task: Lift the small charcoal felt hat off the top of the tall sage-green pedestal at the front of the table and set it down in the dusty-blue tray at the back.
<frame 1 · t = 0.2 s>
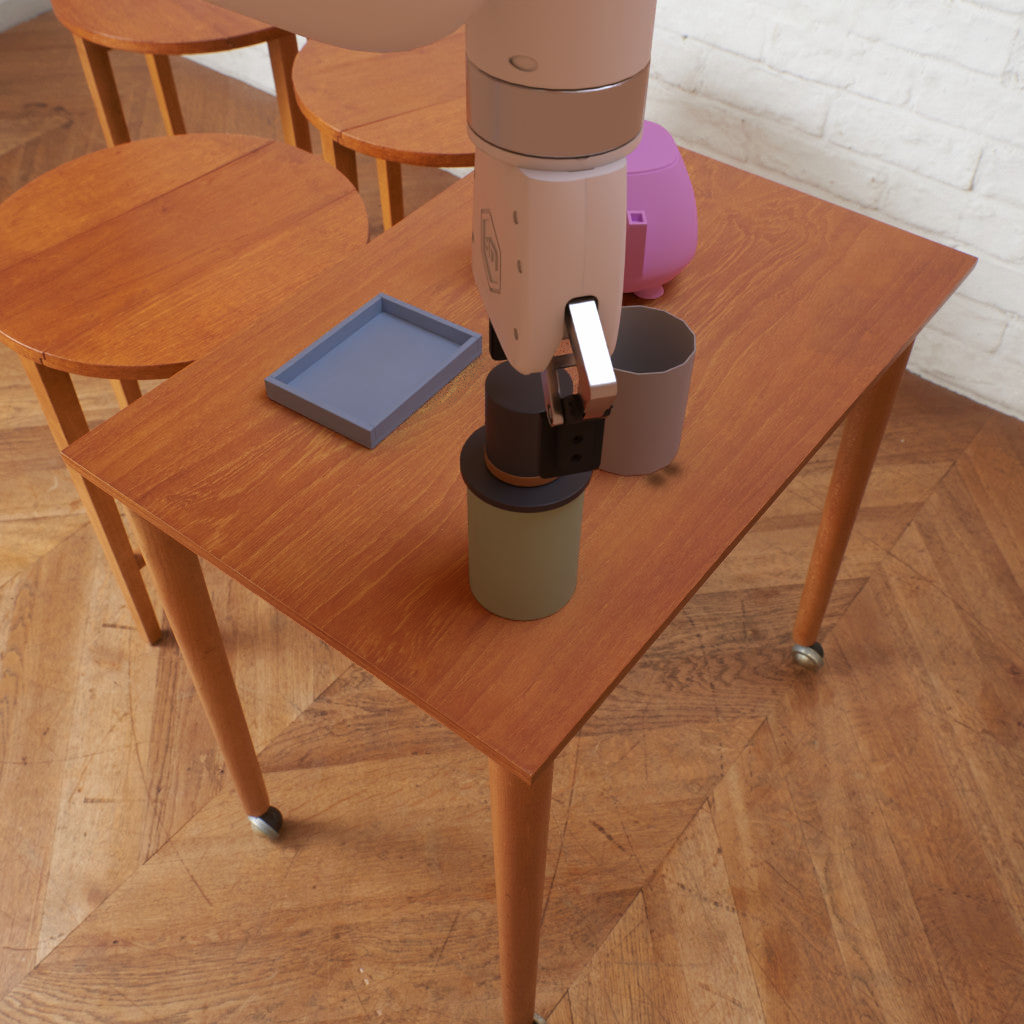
hand: (541, 409, 56), 20 cm above the table, tool pointing down, fingers open, 9 cm apart
cup: (626, 441, 84), on the table
hat: (526, 465, 66), point 11 cm above the table, touching pedestal
teapot: (589, 283, 100), on the table
tray: (377, 375, 90), on the table
pedestal: (522, 578, 74), on the table
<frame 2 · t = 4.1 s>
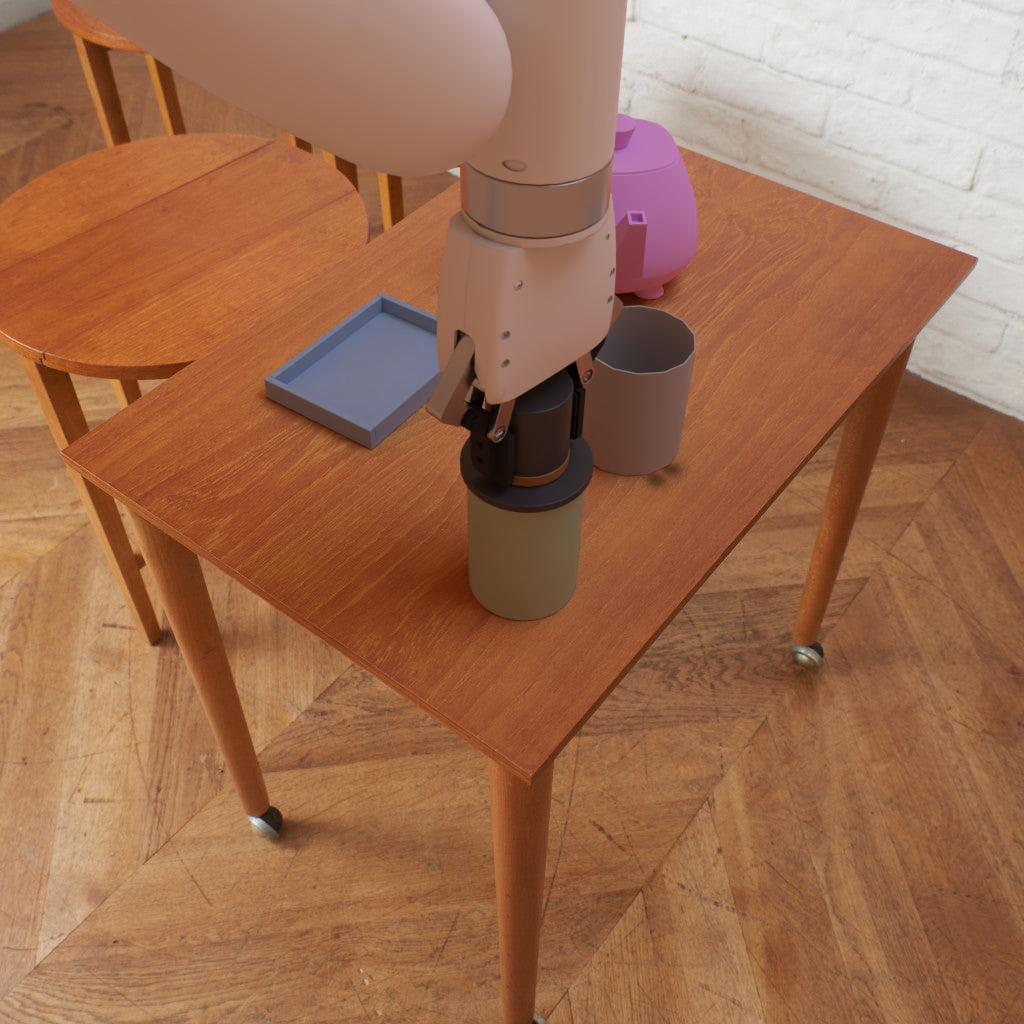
hand: (527, 448, 65), 12 cm above the table, tool pointing down, fingers closed on hat, 5 cm apart
hat: (526, 465, 66), point 11 cm above the table, touching gripper, pedestal
everything else where it was.
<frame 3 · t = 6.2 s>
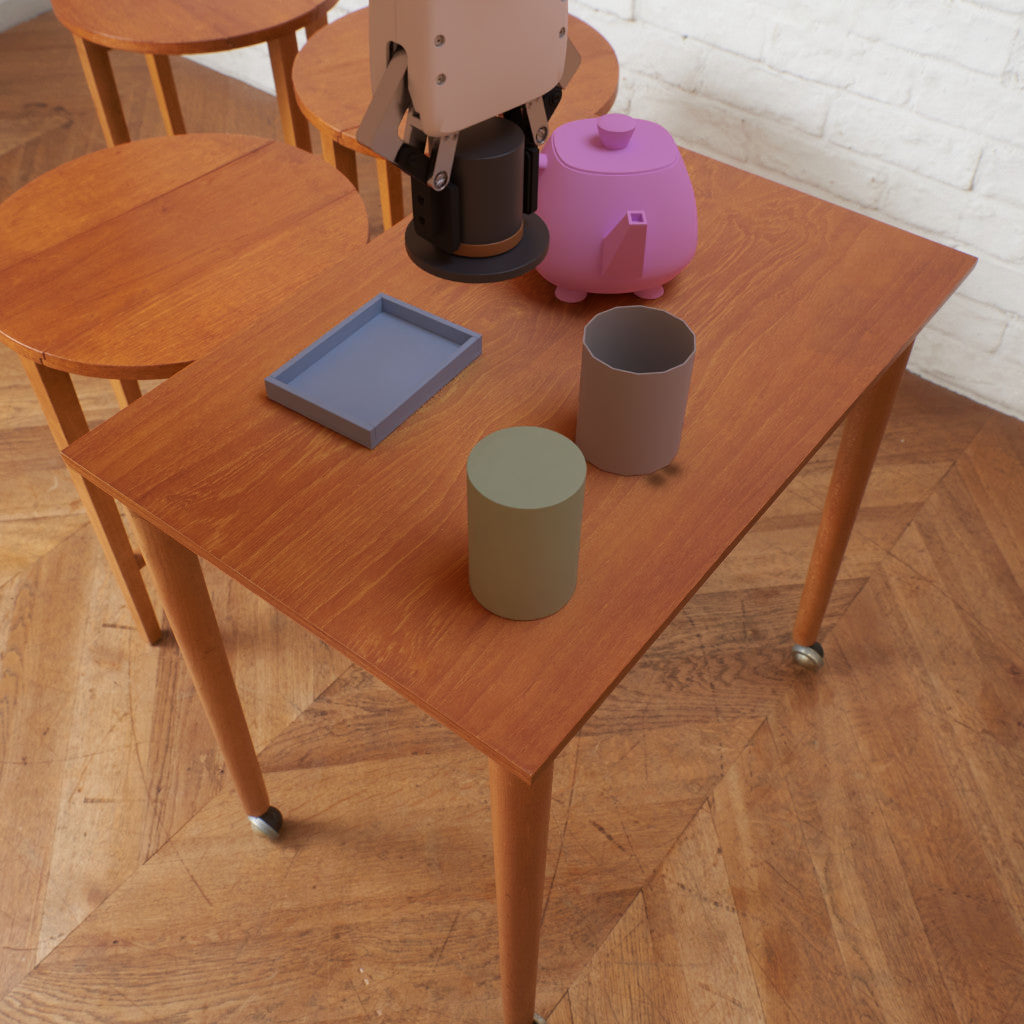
hand: (476, 220, 60), 25 cm above the table, tool pointing down, fingers closed on hat, 5 cm apart
hat: (477, 243, 61), point 23 cm above the table, touching gripper
everything else where it was.
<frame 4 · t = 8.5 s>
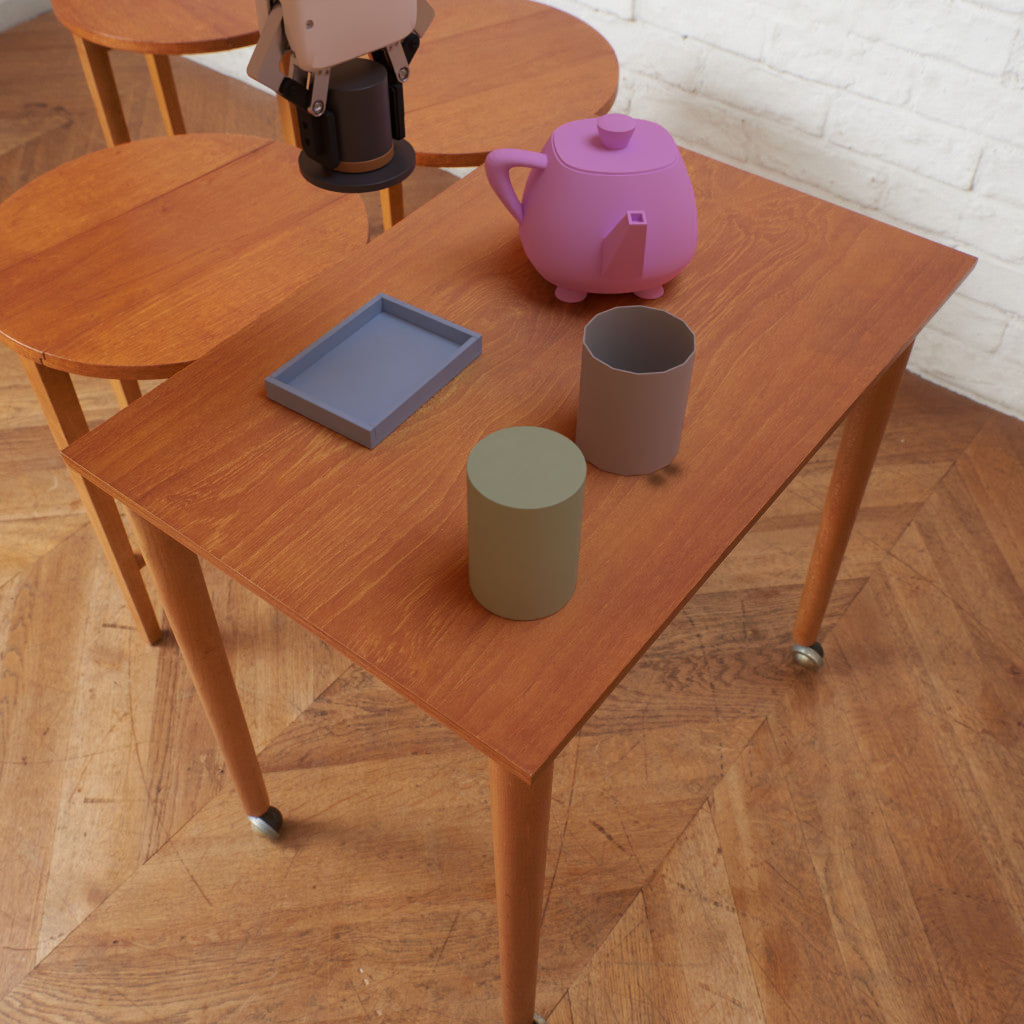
hand: (355, 144, 75), 21 cm above the table, tool pointing down, fingers closed on hat, 5 cm apart
hat: (357, 163, 76), point 19 cm above the table, touching gripper
everything else where it was.
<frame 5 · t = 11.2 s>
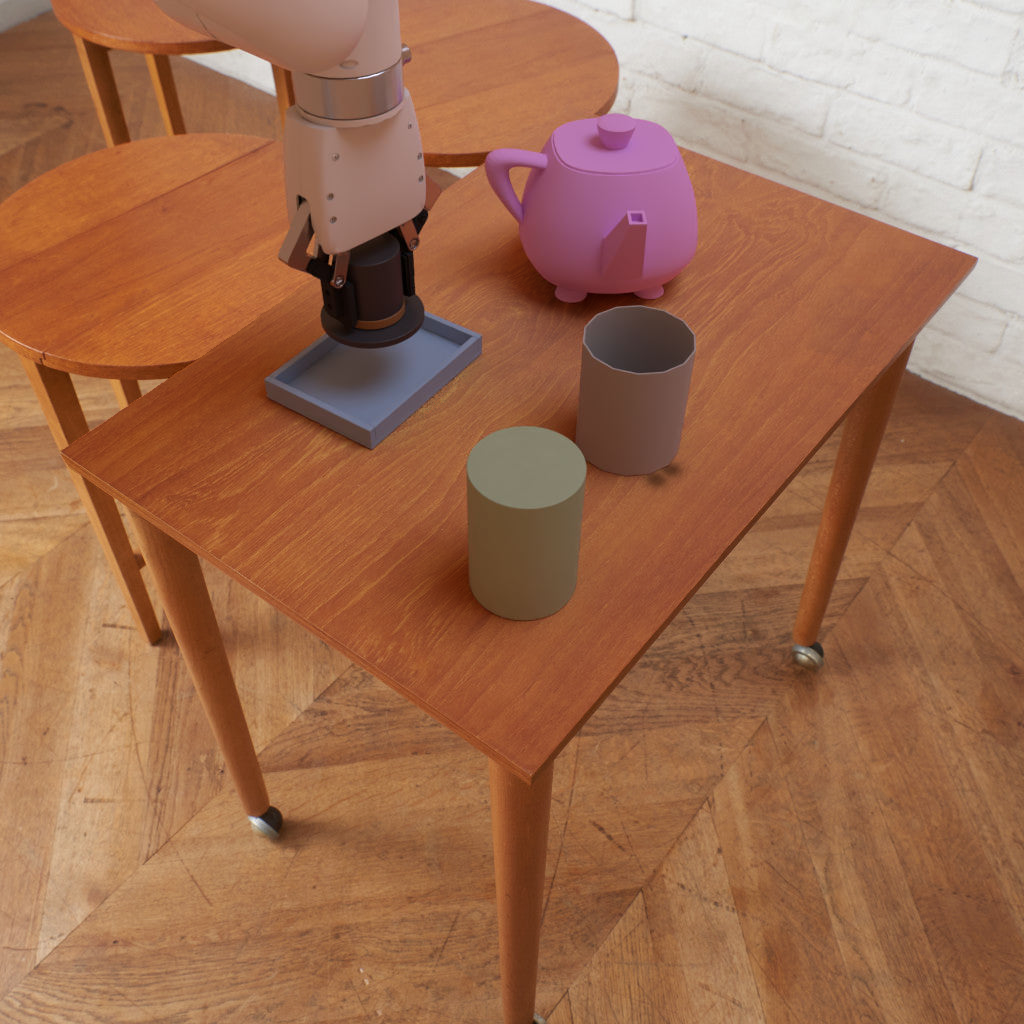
hand: (371, 302, 84), 7 cm above the table, tool pointing down, fingers closed on hat, 5 cm apart
hat: (373, 317, 85), point 6 cm above the table, touching gripper
everything else where it was.
when the fingers open (2 cm above the table, at t = 13.0 s): hat stays where it is, resting on tray.
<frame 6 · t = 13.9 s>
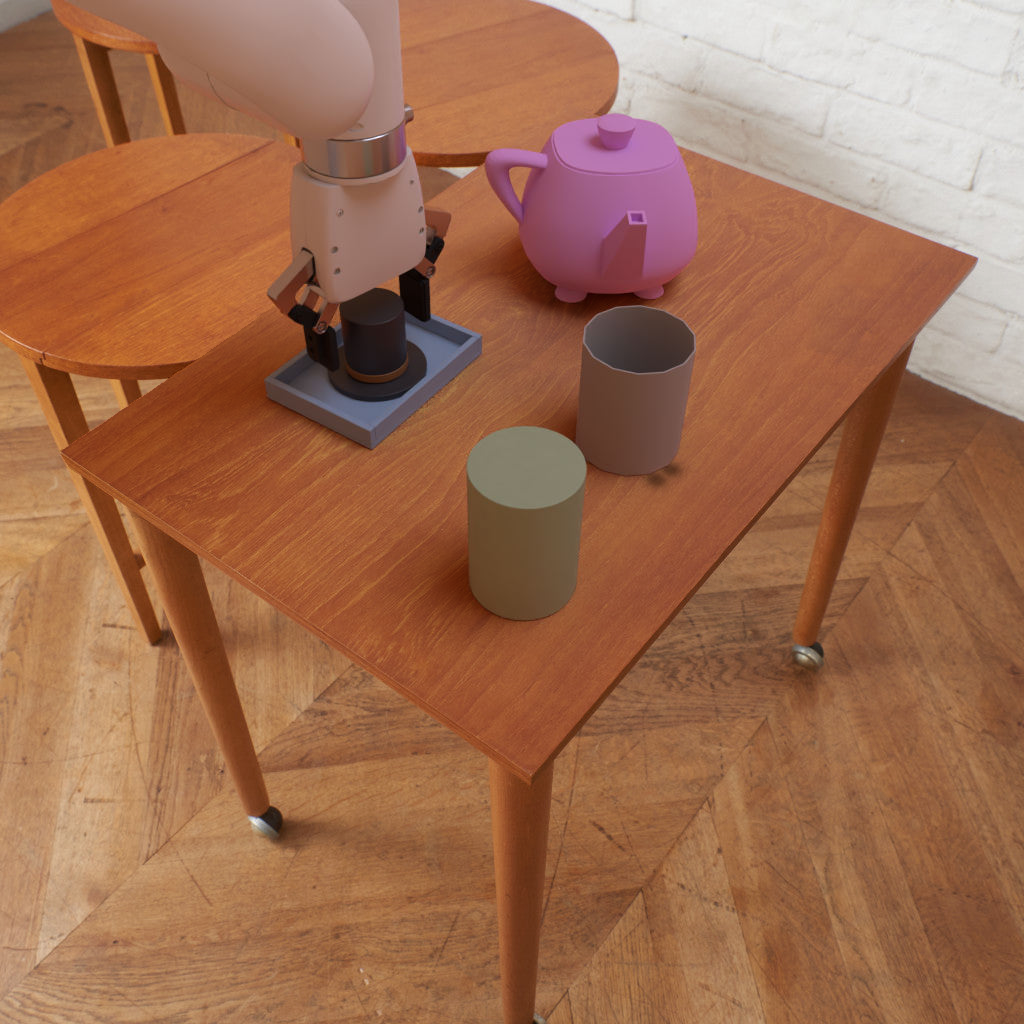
hand: (371, 338, 87), 4 cm above the table, tool pointing down, fingers open, 9 cm apart
hat: (377, 370, 89), resting on tray
everything else where it was.
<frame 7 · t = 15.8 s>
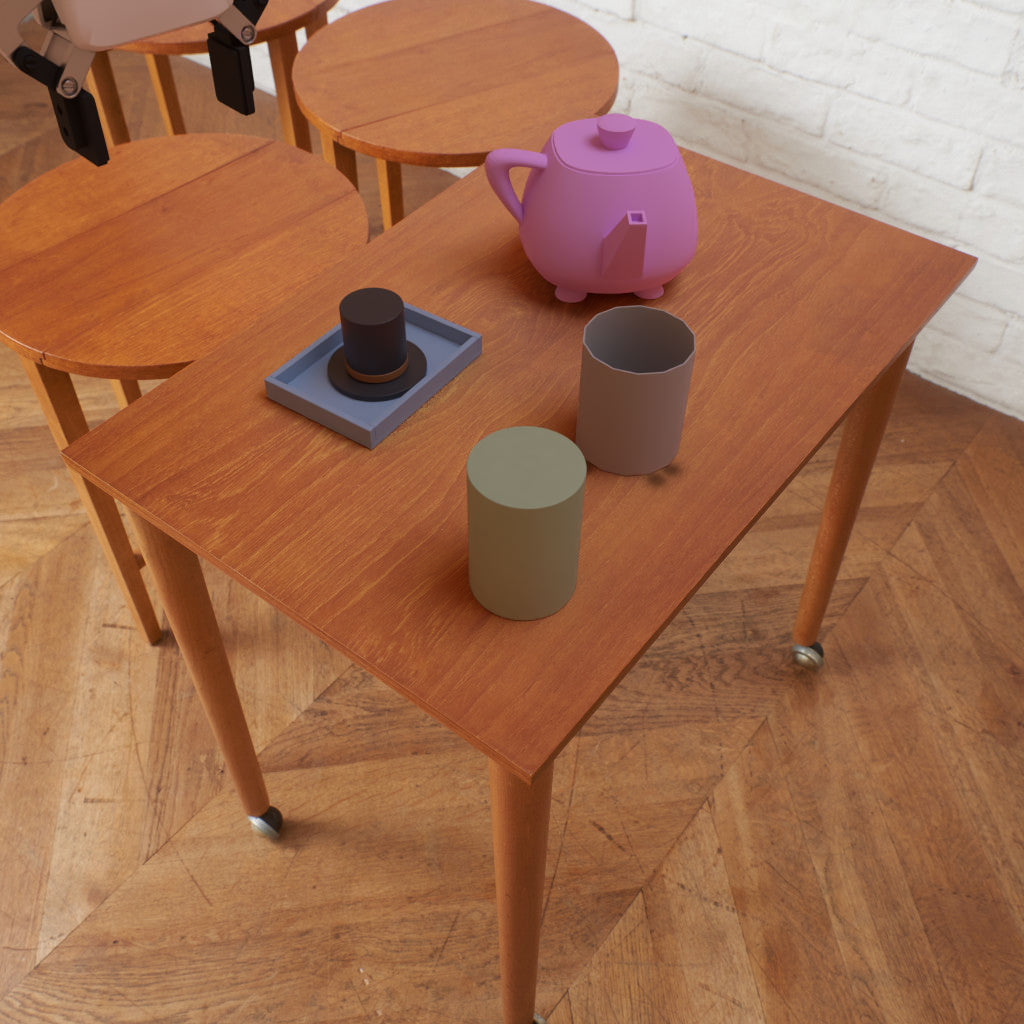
hand: (166, 131, 61), 28 cm above the table, tool pointing down, fingers open, 9 cm apart
nothing on the table moved.
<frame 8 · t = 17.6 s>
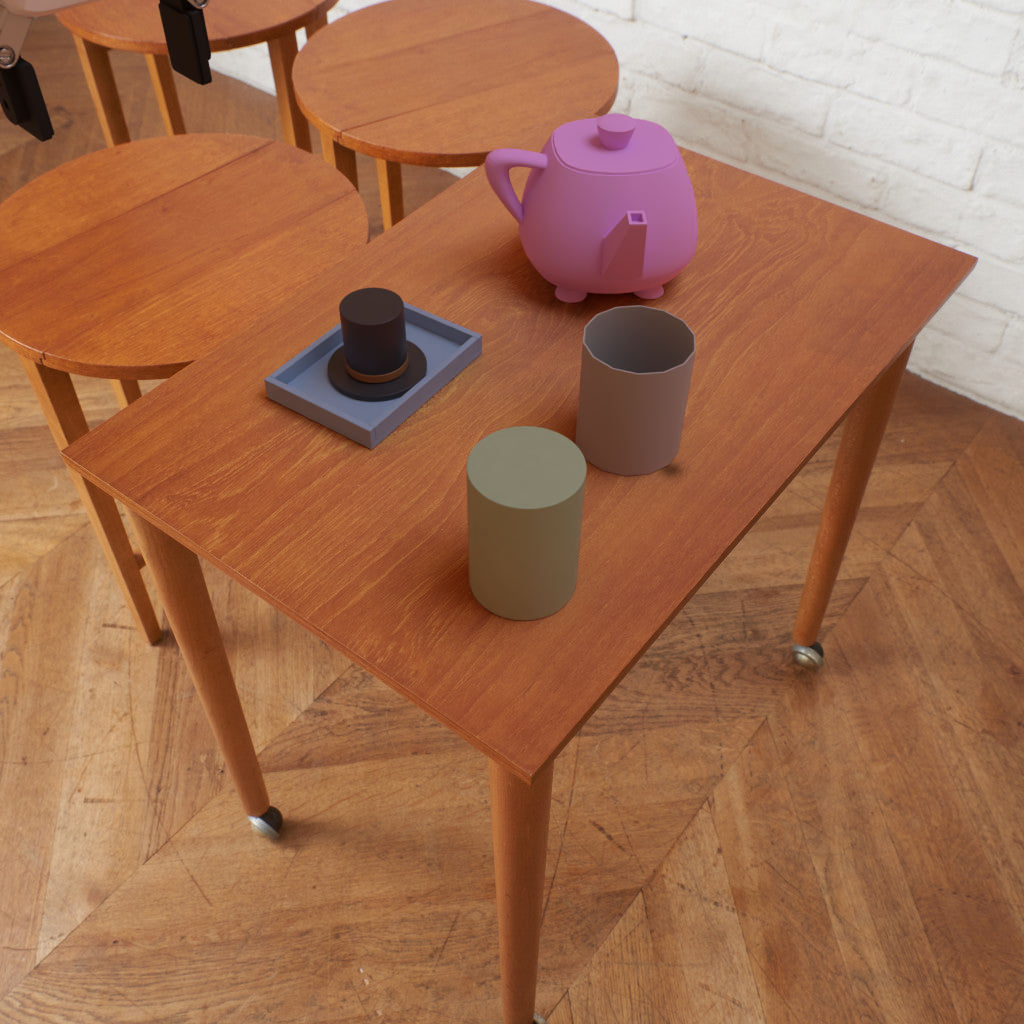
hand: (117, 103, 58), 30 cm above the table, tool pointing down, fingers open, 9 cm apart
nothing on the table moved.
at the end: hat inside the target area in the tray (0.1 cm from its centre), point 0.5 cm above the tray's base; hat tilted 0°; the gripper is holding nothing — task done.
